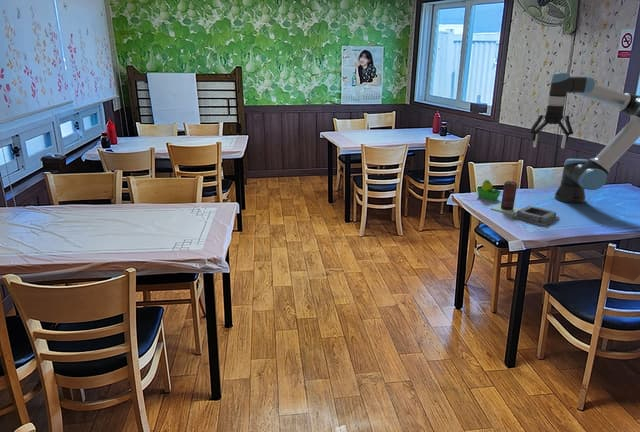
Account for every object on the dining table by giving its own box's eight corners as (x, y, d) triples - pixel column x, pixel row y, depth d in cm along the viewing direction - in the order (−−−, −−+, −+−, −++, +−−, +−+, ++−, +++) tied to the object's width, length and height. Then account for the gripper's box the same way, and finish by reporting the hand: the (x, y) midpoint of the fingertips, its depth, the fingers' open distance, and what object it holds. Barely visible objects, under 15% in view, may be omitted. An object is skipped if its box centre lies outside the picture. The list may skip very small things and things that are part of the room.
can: (507, 211, 233) (512, 184, 229) (498, 207, 239) (501, 181, 234) (516, 209, 236) (520, 183, 231) (506, 205, 241) (510, 180, 236)
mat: (501, 204, 245) (502, 203, 245) (523, 210, 237) (523, 208, 237) (490, 209, 238) (490, 208, 238) (512, 214, 229) (512, 213, 229)
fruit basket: (500, 199, 254) (503, 180, 250) (490, 202, 249) (493, 182, 245) (483, 194, 263) (486, 175, 259) (473, 197, 258) (476, 178, 254)
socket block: (527, 210, 236) (528, 204, 234) (559, 219, 224) (560, 212, 223) (512, 217, 226) (513, 211, 224) (544, 226, 214) (545, 219, 213)
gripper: (579, 104, 227) (571, 146, 234) (527, 103, 230) (520, 145, 238) (585, 106, 220) (577, 149, 227) (531, 105, 223) (524, 148, 231)
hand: (548, 147), depth 232 cm, fingers open, 13 cm apart
